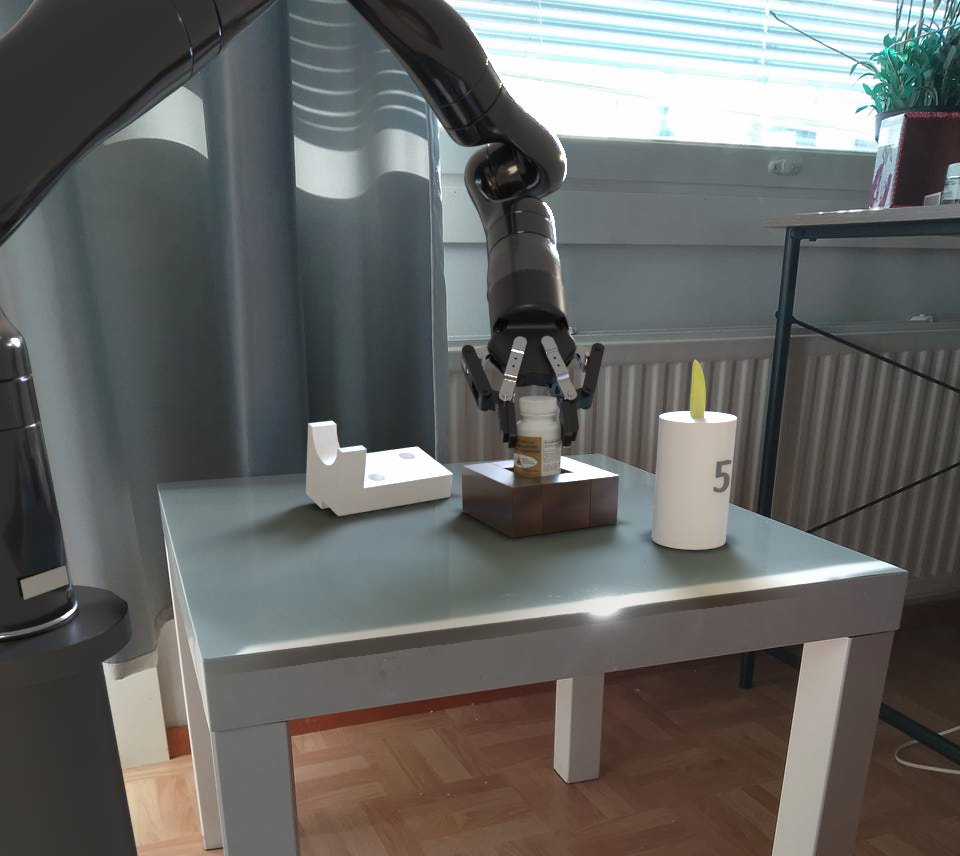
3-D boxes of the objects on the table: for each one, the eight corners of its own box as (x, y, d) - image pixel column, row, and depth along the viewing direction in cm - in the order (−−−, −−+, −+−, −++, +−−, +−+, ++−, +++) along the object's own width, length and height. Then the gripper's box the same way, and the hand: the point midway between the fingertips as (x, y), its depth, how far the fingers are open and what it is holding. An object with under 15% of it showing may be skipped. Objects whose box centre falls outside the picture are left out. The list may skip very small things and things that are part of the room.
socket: (512, 538, 82) (512, 487, 80) (462, 511, 91) (461, 465, 89) (617, 523, 86) (619, 475, 84) (559, 499, 95) (560, 455, 94)
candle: (690, 554, 77) (705, 366, 71) (636, 537, 82) (646, 359, 76) (743, 542, 80) (761, 360, 74) (688, 526, 85) (701, 355, 79)
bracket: (337, 524, 90) (342, 452, 86) (305, 493, 95) (308, 423, 90) (449, 505, 97) (458, 437, 93) (414, 476, 102) (421, 410, 97)
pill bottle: (503, 481, 88) (503, 397, 85) (537, 474, 90) (538, 393, 87) (535, 489, 85) (536, 402, 82) (569, 482, 87) (572, 398, 84)
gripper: (453, 267, 87) (462, 419, 80) (605, 265, 87) (626, 416, 81) (452, 323, 93) (460, 468, 87) (592, 321, 94) (611, 464, 88)
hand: (540, 442), depth 84 cm, fingers closed on pill bottle, 4 cm apart
